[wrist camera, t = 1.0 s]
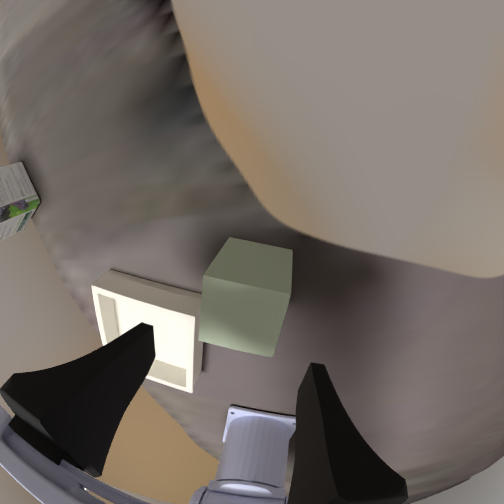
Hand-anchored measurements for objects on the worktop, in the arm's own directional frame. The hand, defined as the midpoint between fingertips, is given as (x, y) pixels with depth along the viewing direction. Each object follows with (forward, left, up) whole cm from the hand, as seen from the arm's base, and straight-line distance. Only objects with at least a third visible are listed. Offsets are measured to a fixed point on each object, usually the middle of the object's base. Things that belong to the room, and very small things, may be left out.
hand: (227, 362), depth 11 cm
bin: (-8, +8, -9) cm, 14 cm away
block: (0, 0, -9) cm, 9 cm away
